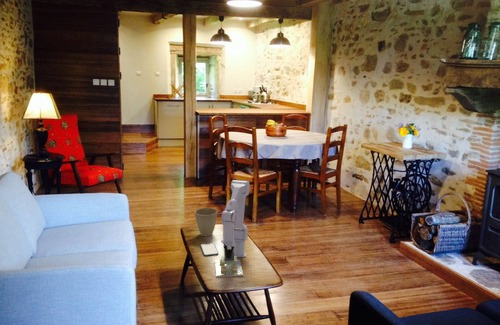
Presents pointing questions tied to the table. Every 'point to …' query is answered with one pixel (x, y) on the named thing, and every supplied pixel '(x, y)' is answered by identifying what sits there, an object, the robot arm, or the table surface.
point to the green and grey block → (229, 261)
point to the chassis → (228, 269)
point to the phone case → (209, 249)
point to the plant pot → (206, 220)
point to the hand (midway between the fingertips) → (228, 256)
